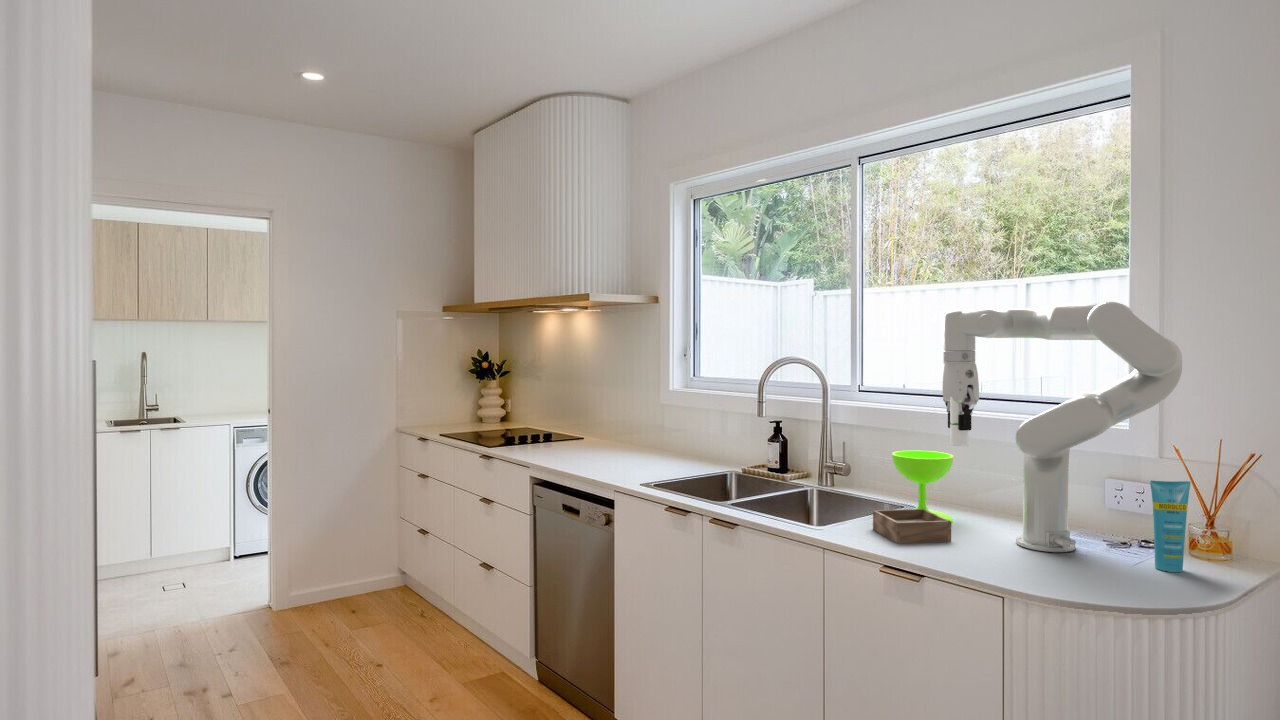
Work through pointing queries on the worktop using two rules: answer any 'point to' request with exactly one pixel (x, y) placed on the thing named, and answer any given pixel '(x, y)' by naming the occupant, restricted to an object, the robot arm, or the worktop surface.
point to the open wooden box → (911, 526)
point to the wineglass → (923, 471)
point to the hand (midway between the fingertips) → (959, 428)
